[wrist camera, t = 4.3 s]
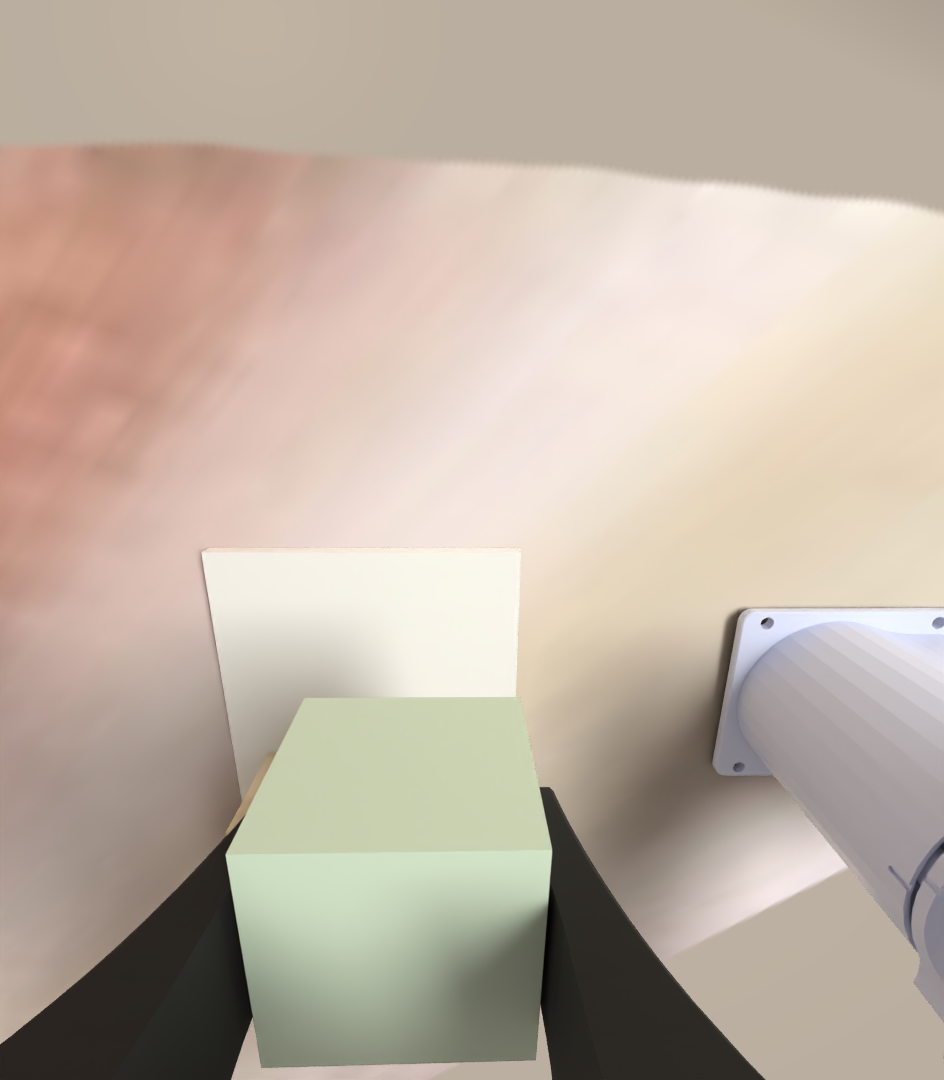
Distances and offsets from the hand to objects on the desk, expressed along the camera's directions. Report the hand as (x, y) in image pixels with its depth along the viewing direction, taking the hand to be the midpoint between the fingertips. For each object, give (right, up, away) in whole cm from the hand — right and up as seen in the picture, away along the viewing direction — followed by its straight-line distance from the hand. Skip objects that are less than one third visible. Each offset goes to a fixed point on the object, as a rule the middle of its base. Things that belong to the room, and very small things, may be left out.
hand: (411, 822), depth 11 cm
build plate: (-3, -2, +10) cm, 11 cm away
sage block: (0, 0, +1) cm, 1 cm away
